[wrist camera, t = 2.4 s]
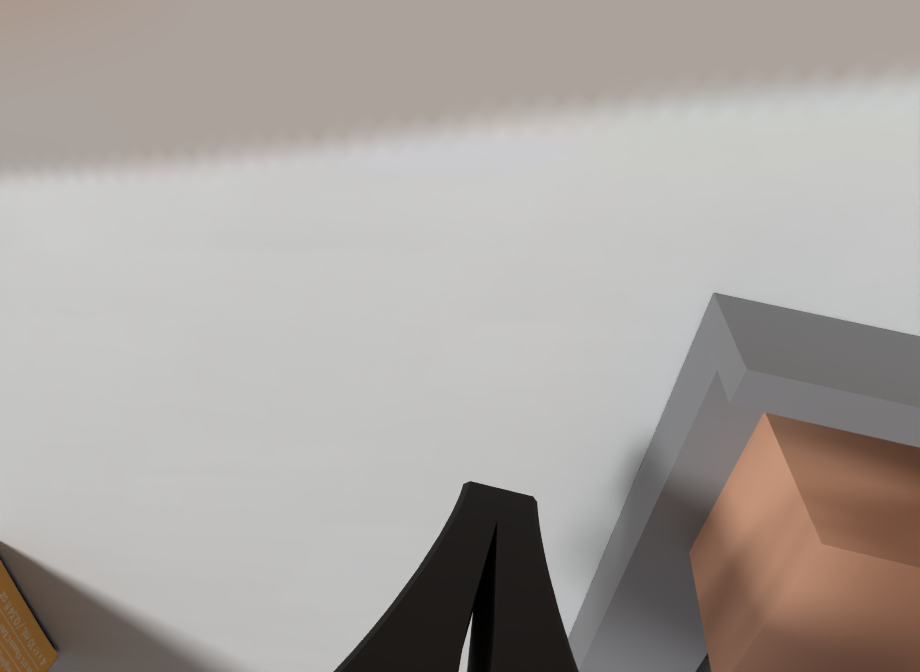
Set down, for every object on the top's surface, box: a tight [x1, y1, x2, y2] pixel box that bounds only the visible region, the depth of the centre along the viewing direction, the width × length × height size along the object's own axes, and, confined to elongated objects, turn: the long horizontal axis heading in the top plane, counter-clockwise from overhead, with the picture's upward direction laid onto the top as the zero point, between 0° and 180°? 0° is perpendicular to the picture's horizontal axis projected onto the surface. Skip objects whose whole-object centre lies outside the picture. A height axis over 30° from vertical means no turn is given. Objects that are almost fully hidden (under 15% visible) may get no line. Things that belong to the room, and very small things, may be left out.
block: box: [689, 412, 920, 672], centre depth 12 cm, size 4×4×4 cm
